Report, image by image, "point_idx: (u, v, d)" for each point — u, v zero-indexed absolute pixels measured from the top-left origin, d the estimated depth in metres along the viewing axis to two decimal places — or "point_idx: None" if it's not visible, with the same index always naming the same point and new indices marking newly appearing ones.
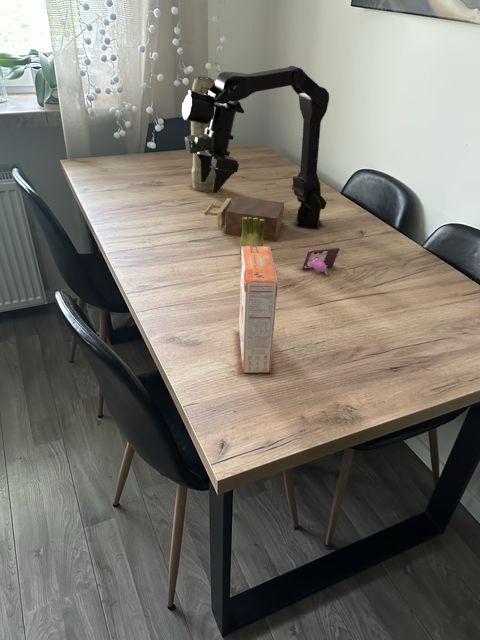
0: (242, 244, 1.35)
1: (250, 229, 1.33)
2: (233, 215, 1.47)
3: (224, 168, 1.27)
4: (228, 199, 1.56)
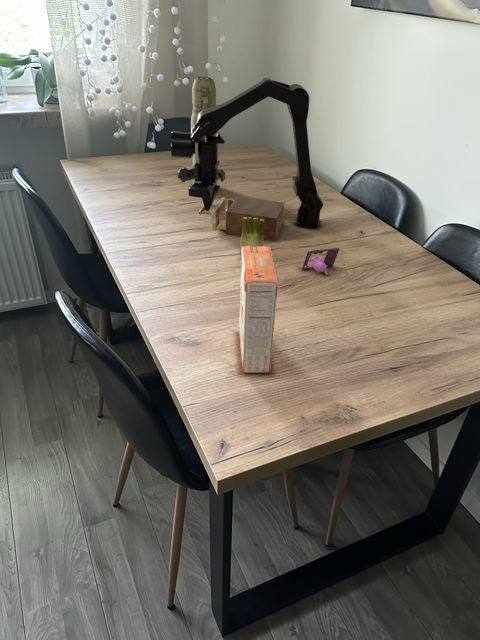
0: (242, 244, 1.35)
1: (250, 229, 1.33)
2: (233, 215, 1.47)
3: (195, 195, 1.42)
4: (222, 198, 1.56)
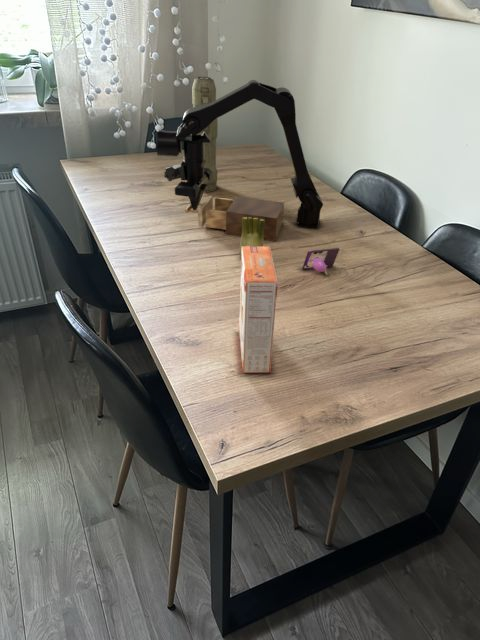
0: (242, 244, 1.35)
1: (250, 229, 1.33)
2: (233, 215, 1.47)
3: (181, 194, 1.43)
4: (209, 196, 1.57)
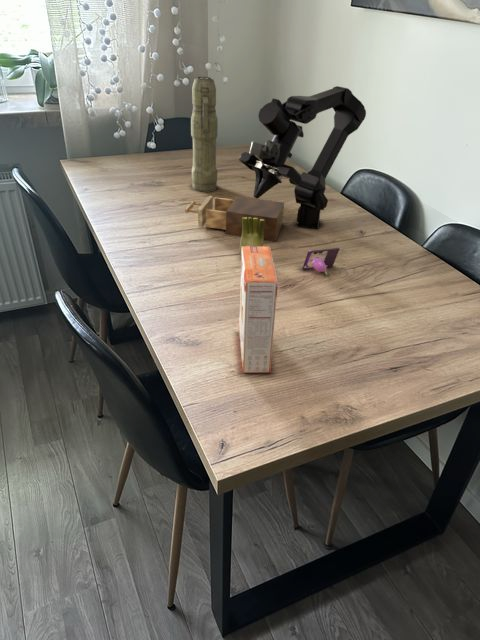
0: (242, 244, 1.35)
1: (250, 229, 1.33)
2: (233, 215, 1.47)
3: (292, 178, 1.29)
4: (209, 196, 1.57)
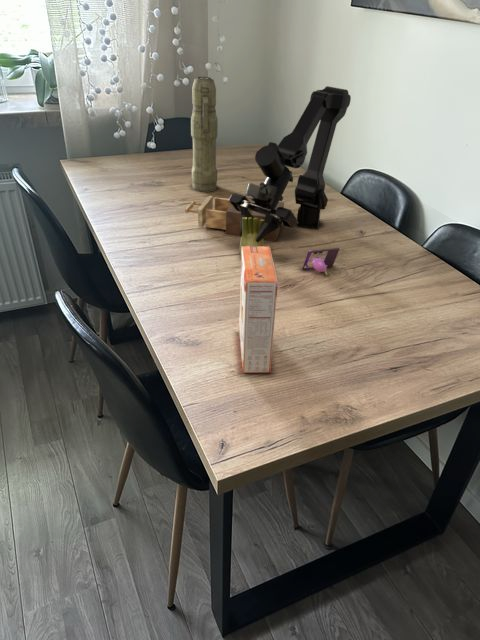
0: (242, 244, 1.35)
1: (250, 229, 1.33)
2: (233, 215, 1.47)
3: (290, 220, 1.29)
4: (209, 196, 1.57)
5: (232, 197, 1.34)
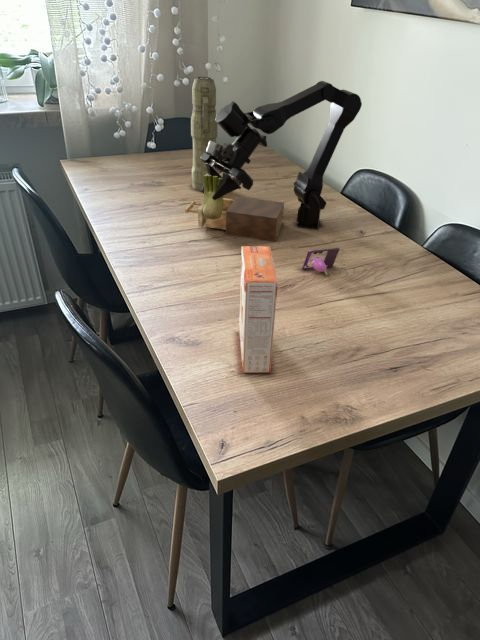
0: (203, 201, 1.40)
1: (210, 187, 1.37)
2: (233, 215, 1.47)
3: (242, 181, 1.31)
4: None
5: (203, 155, 1.40)
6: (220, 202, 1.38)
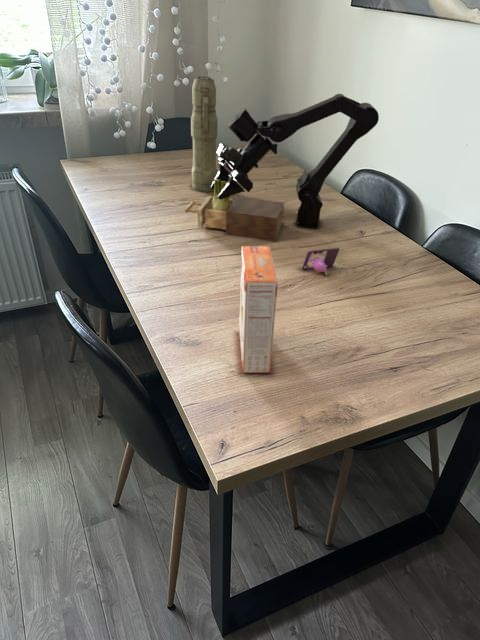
0: (213, 203, 1.53)
1: (218, 190, 1.49)
2: (233, 215, 1.47)
3: (240, 182, 1.40)
4: (209, 196, 1.57)
5: (220, 156, 1.52)
6: (226, 205, 1.50)
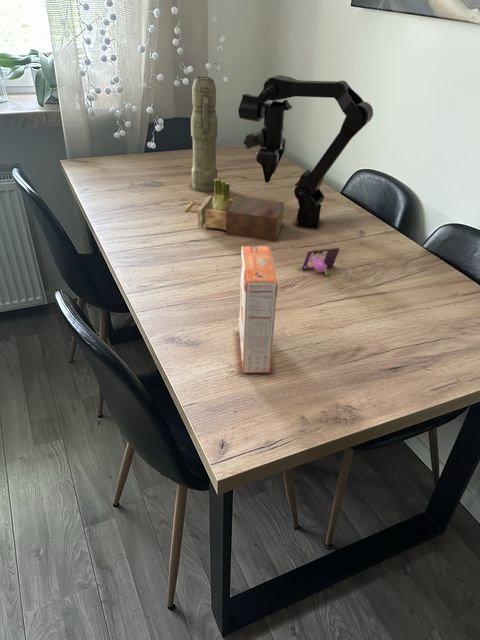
0: (213, 203, 1.53)
1: (218, 190, 1.49)
2: (233, 215, 1.47)
3: (262, 160, 1.45)
4: (209, 196, 1.57)
5: None
6: (226, 205, 1.50)
